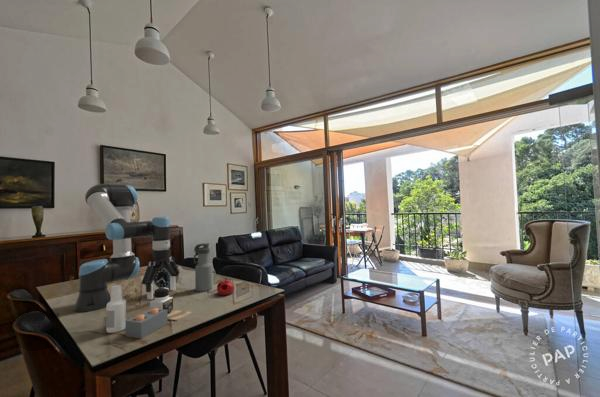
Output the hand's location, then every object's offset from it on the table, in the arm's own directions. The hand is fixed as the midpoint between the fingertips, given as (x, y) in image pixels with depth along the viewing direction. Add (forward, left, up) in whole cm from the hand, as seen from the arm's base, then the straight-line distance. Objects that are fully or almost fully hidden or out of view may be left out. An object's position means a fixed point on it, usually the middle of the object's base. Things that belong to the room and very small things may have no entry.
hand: (162, 294), depth 124 cm
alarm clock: (-22, +26, -10) cm, 35 cm away
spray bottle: (-7, -17, -10) cm, 21 cm away
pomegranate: (+13, +34, -10) cm, 37 cm away
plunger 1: (+7, -18, -8) cm, 21 cm away
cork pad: (+8, 0, -10) cm, 12 cm away
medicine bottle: (0, 0, -10) cm, 10 cm away
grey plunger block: (+7, -14, -10) cm, 18 cm away
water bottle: (-5, +38, -10) cm, 39 cm away
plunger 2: (+7, -11, -8) cm, 15 cm away
